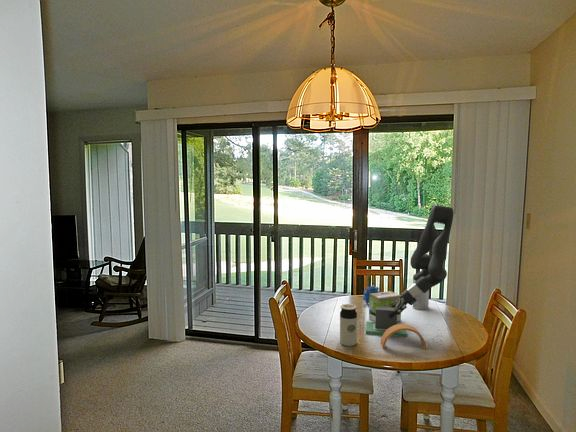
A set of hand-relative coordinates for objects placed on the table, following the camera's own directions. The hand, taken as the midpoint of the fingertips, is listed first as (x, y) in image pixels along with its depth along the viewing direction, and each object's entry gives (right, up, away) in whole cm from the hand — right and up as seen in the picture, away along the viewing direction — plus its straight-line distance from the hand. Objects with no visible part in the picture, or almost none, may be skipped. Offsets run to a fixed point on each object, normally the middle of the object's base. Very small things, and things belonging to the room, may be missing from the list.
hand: (389, 314), depth 197 cm
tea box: (+2, -8, +16) cm, 18 cm away
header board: (-2, -9, +1) cm, 9 cm away
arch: (+1, -11, -19) cm, 22 cm away
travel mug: (-24, -10, -15) cm, 30 cm away
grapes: (0, -5, +46) cm, 47 cm away
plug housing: (-2, -7, +1) cm, 7 cm away
